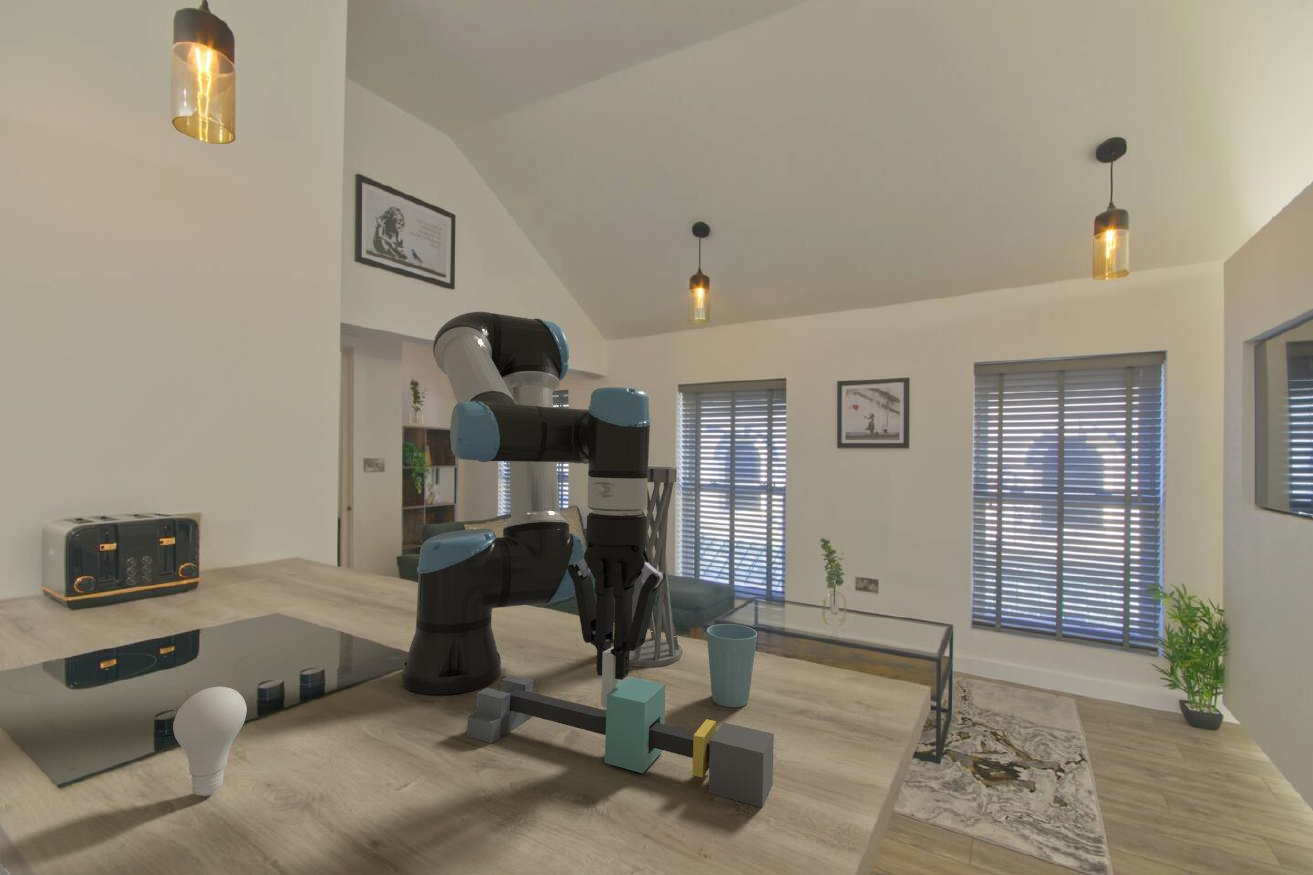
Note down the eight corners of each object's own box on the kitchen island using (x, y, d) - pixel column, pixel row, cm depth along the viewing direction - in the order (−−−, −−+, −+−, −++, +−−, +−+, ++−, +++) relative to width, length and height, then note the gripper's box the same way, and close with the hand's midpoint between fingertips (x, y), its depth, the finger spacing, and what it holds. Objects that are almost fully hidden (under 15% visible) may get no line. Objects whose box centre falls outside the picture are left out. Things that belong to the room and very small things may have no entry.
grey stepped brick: (467, 736, 74) (468, 696, 74) (516, 706, 83) (517, 671, 83) (491, 743, 72) (493, 703, 72) (539, 711, 81) (540, 676, 82)
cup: (766, 706, 85) (767, 635, 86) (721, 714, 82) (722, 641, 83) (738, 687, 92) (740, 621, 93) (696, 694, 89) (698, 626, 90)
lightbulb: (196, 778, 63) (202, 677, 63) (255, 777, 63) (260, 677, 64) (152, 813, 57) (159, 701, 57) (218, 812, 57) (223, 700, 58)
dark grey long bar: (500, 722, 75) (501, 688, 75) (521, 708, 79) (522, 676, 79) (753, 791, 61) (754, 749, 61) (763, 771, 65) (764, 732, 65)
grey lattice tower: (666, 639, 115) (671, 465, 116) (693, 662, 103) (699, 467, 104) (600, 645, 110) (606, 463, 111) (621, 670, 98) (627, 465, 99)
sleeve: (604, 762, 68) (606, 694, 68) (627, 740, 73) (629, 677, 74) (642, 773, 66) (644, 702, 66) (663, 749, 71) (665, 684, 71)
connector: (708, 792, 63) (709, 739, 63) (721, 771, 67) (723, 722, 68) (762, 807, 61) (763, 753, 61) (772, 784, 65) (773, 733, 65)
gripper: (556, 510, 71) (550, 703, 70) (651, 517, 66) (645, 727, 65) (588, 506, 78) (583, 683, 77) (676, 512, 72) (672, 702, 71)
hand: (611, 703), depth 71 cm, fingers closed
